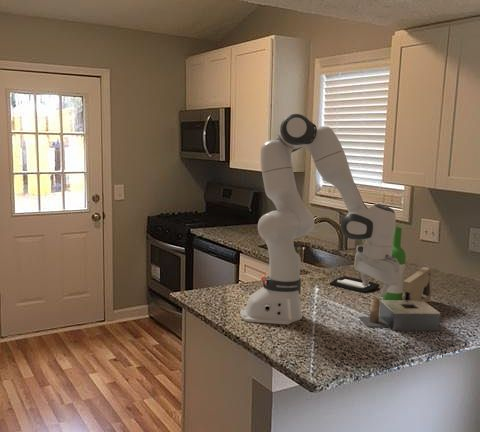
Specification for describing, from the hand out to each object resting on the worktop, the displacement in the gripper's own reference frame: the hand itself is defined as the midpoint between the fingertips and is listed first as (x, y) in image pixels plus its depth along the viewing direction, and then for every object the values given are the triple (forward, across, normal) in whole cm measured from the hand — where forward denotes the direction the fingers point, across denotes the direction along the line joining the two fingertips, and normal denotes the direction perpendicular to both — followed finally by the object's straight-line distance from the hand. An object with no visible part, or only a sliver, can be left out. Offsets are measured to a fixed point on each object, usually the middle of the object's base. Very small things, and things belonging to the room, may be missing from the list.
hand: (373, 289), depth 184 cm
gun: (+12, +7, -29) cm, 32 cm away
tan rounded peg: (+11, -1, -1) cm, 11 cm away
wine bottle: (+12, +19, -27) cm, 35 cm away
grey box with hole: (+11, -6, -12) cm, 18 cm away
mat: (+12, -1, -1) cm, 12 cm away
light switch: (+14, +40, -24) cm, 49 cm away
